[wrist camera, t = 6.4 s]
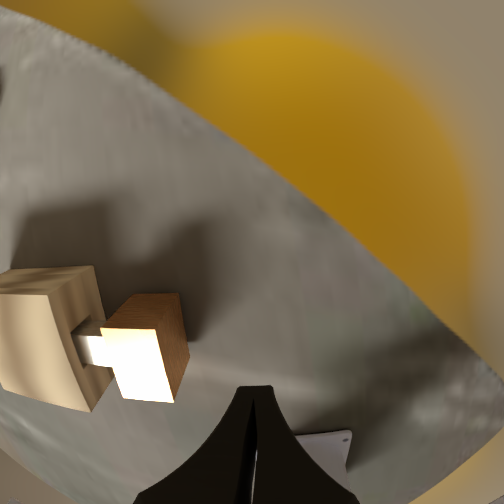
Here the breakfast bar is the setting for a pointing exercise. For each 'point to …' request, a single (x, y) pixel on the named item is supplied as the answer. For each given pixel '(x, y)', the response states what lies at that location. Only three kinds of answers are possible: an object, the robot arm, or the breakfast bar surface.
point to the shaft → (139, 346)
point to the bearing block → (50, 335)
